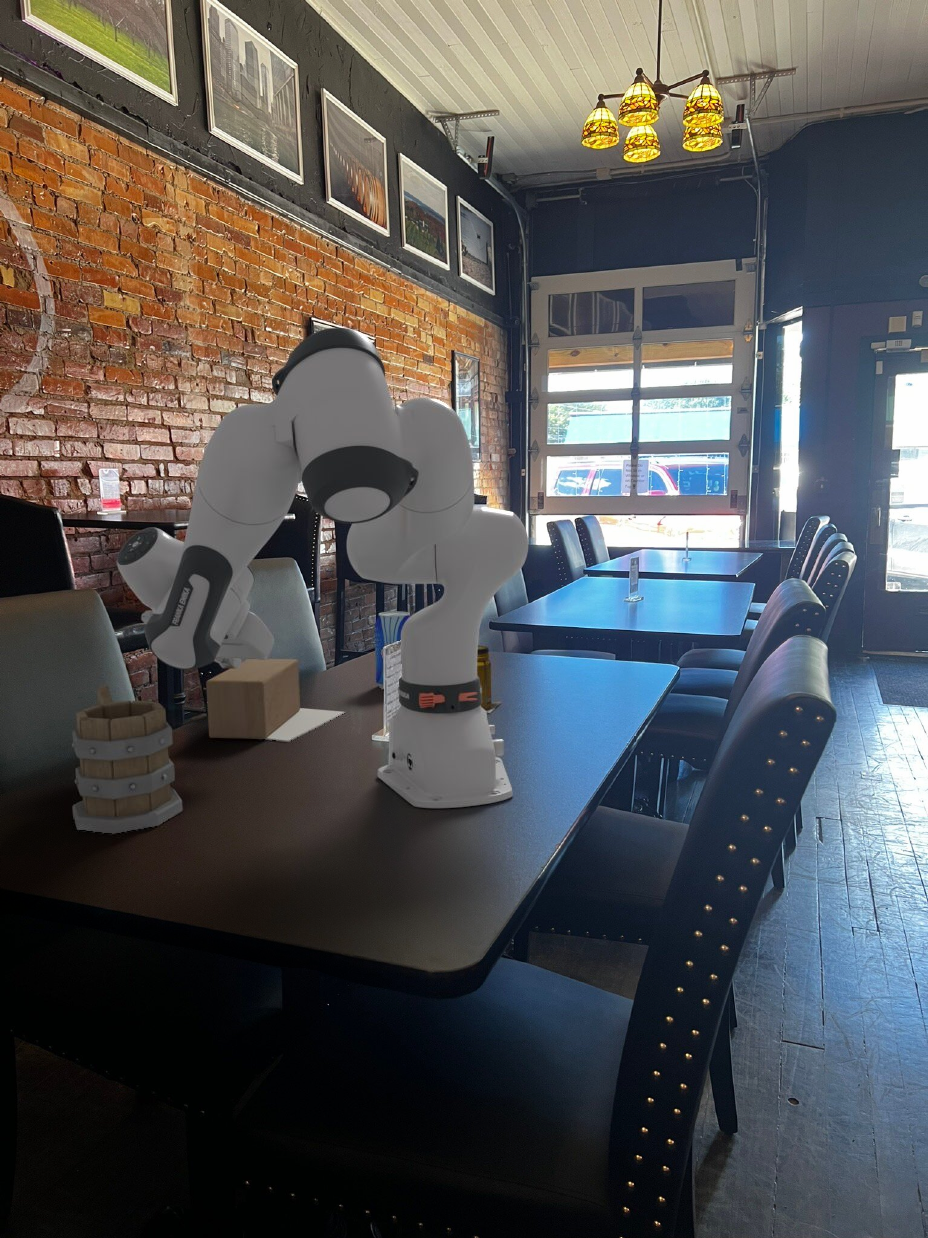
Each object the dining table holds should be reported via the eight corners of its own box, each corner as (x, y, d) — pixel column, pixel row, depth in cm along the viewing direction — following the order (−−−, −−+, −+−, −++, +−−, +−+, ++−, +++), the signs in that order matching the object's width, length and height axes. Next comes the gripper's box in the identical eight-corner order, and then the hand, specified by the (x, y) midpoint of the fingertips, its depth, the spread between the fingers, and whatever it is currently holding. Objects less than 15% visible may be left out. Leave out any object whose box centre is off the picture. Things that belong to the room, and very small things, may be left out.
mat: (288, 742, 142) (288, 740, 142) (213, 734, 148) (213, 733, 148) (345, 713, 161) (344, 711, 161) (276, 707, 166) (276, 706, 166)
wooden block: (265, 739, 143) (300, 710, 163) (262, 681, 142) (298, 658, 161) (208, 738, 144) (250, 709, 164) (204, 680, 143) (247, 658, 162)
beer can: (410, 692, 178) (409, 616, 176) (371, 691, 179) (369, 616, 177) (419, 683, 186) (417, 611, 184) (381, 682, 188) (379, 610, 185)
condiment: (453, 711, 162) (452, 649, 160) (466, 701, 170) (465, 642, 168) (489, 714, 160) (489, 651, 158) (501, 703, 168) (501, 643, 166)
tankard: (189, 821, 108) (182, 706, 106) (80, 842, 102) (71, 719, 100) (159, 777, 125) (153, 677, 123) (65, 792, 119) (56, 687, 117)
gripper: (126, 627, 131) (172, 677, 142) (240, 633, 124) (279, 685, 135) (145, 595, 135) (188, 646, 145) (256, 599, 128) (292, 652, 138)
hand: (232, 665), depth 140 cm, fingers closed
